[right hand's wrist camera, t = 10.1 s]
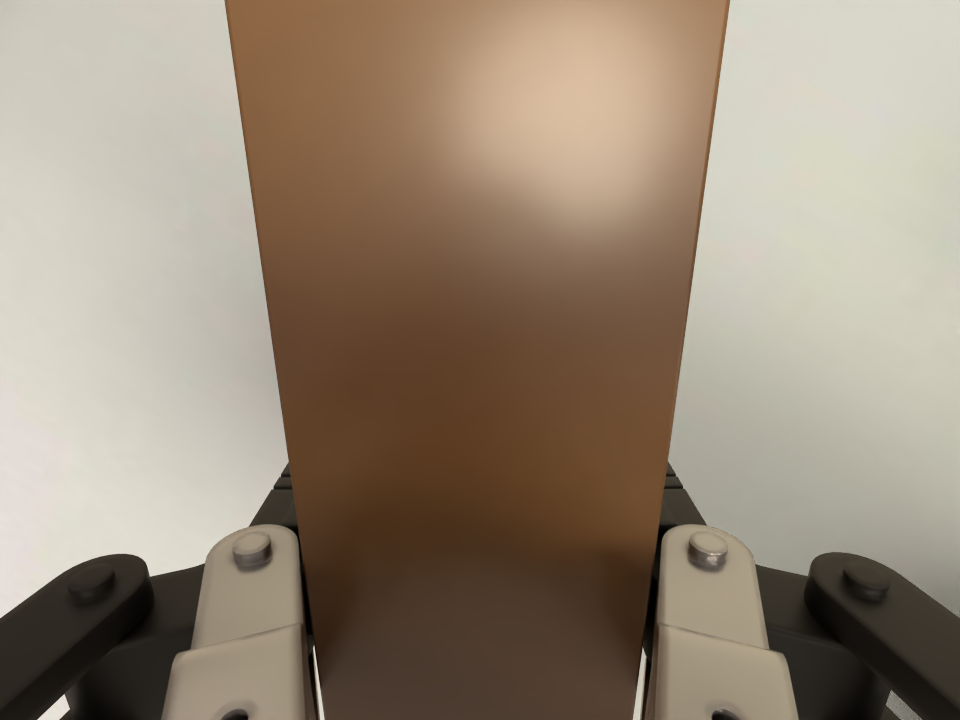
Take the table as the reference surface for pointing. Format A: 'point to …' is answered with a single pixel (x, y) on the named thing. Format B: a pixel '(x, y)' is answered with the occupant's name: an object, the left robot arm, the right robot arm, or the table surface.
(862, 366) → the table surface
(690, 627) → the right robot arm
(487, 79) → the bar
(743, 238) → the table surface
